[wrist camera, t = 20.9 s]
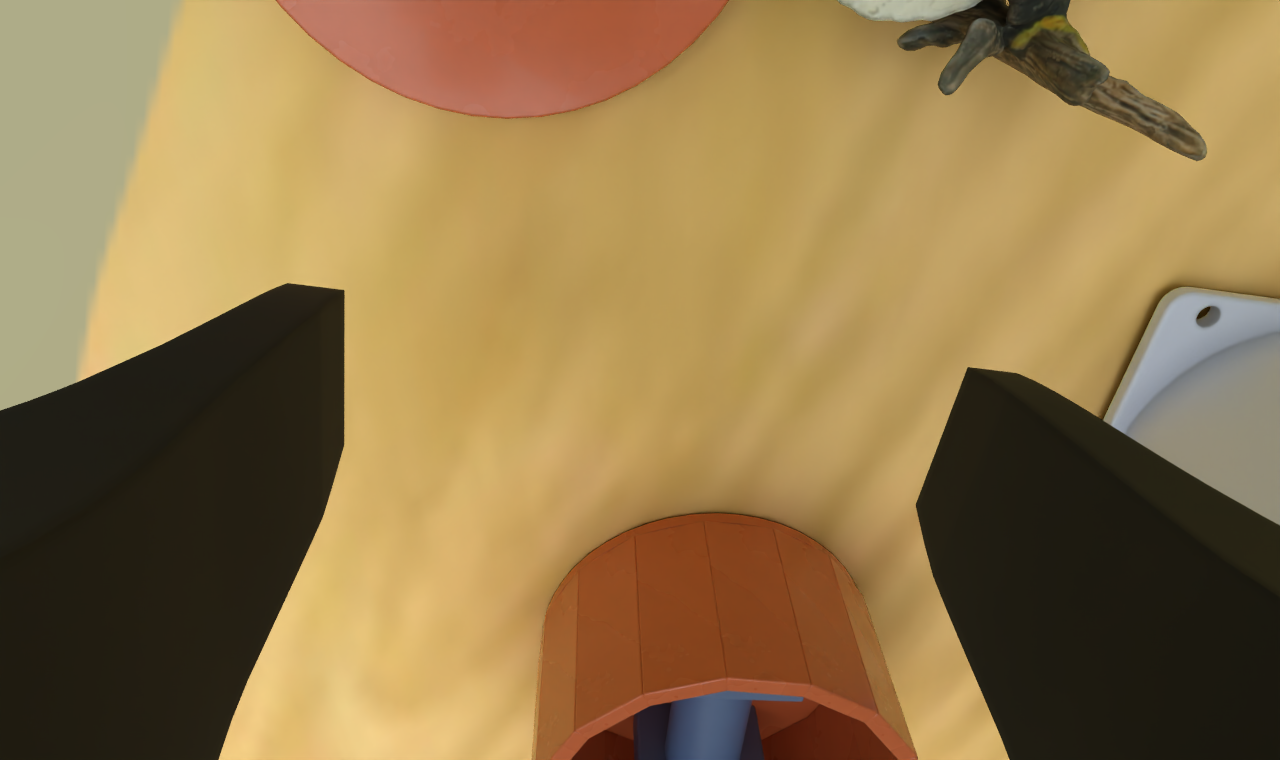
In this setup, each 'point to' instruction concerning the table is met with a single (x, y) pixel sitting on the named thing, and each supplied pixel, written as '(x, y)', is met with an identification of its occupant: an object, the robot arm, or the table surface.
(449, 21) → the lid
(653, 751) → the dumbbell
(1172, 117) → the eagle figurine
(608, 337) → the table surface
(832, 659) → the pot
